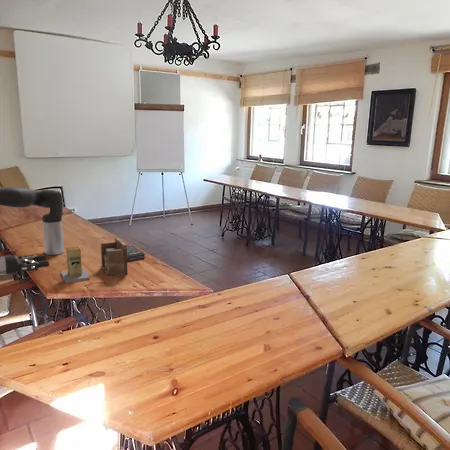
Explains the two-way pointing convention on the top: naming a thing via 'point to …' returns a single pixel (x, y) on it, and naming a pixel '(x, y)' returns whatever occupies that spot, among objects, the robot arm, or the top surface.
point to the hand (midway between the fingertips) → (47, 260)
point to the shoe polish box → (74, 261)
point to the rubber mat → (75, 278)
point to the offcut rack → (114, 257)
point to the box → (134, 253)
